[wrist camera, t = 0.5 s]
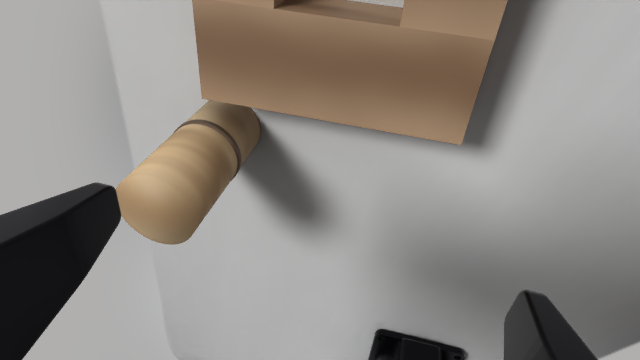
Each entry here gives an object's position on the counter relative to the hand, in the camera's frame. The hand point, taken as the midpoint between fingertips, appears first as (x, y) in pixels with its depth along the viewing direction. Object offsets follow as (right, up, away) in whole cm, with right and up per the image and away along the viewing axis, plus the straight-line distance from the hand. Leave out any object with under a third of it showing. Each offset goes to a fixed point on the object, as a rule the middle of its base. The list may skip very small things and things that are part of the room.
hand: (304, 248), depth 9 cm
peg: (-5, +5, +15) cm, 16 cm away
